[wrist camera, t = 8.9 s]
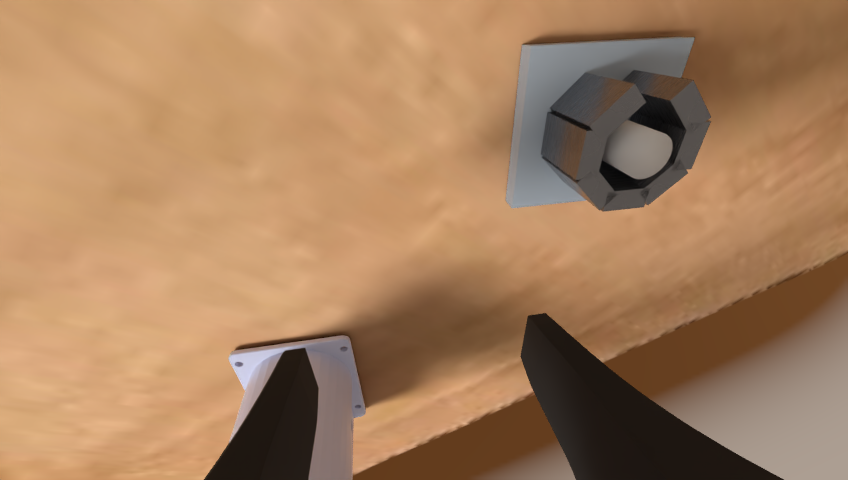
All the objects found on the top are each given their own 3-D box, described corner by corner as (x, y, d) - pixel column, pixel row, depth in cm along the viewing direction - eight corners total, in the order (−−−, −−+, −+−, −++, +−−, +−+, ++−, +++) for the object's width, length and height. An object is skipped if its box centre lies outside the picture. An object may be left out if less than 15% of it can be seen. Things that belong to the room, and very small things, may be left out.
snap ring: (629, 176, 19) (676, 203, 16) (535, 185, 19) (567, 215, 16) (663, 68, 16) (728, 77, 13) (553, 74, 16) (596, 86, 13)
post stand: (630, 187, 21) (697, 228, 17) (505, 200, 20) (543, 247, 16) (678, 36, 17) (783, 41, 13) (522, 44, 16) (579, 52, 12)
